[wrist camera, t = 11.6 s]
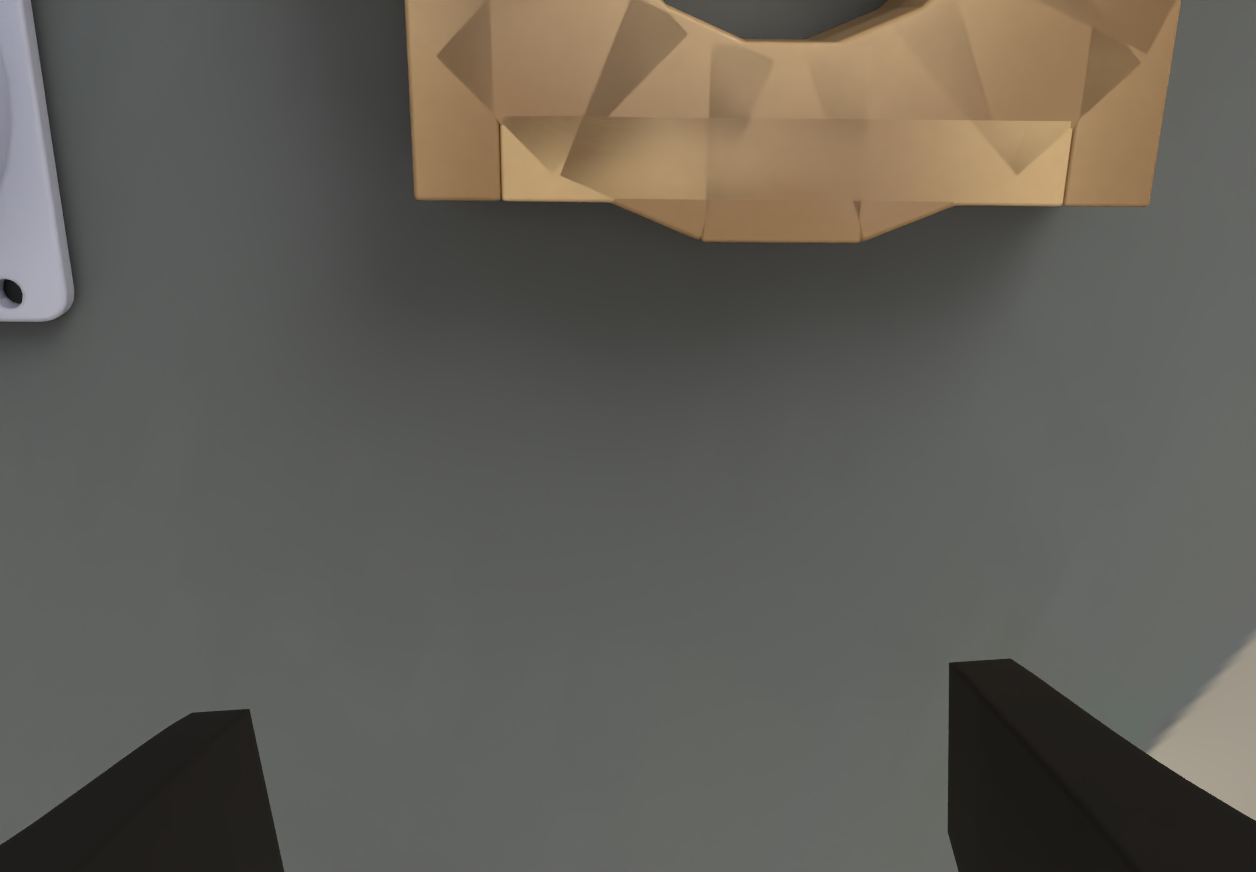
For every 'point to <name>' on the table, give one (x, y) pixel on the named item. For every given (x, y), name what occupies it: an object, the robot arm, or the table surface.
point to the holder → (789, 111)
